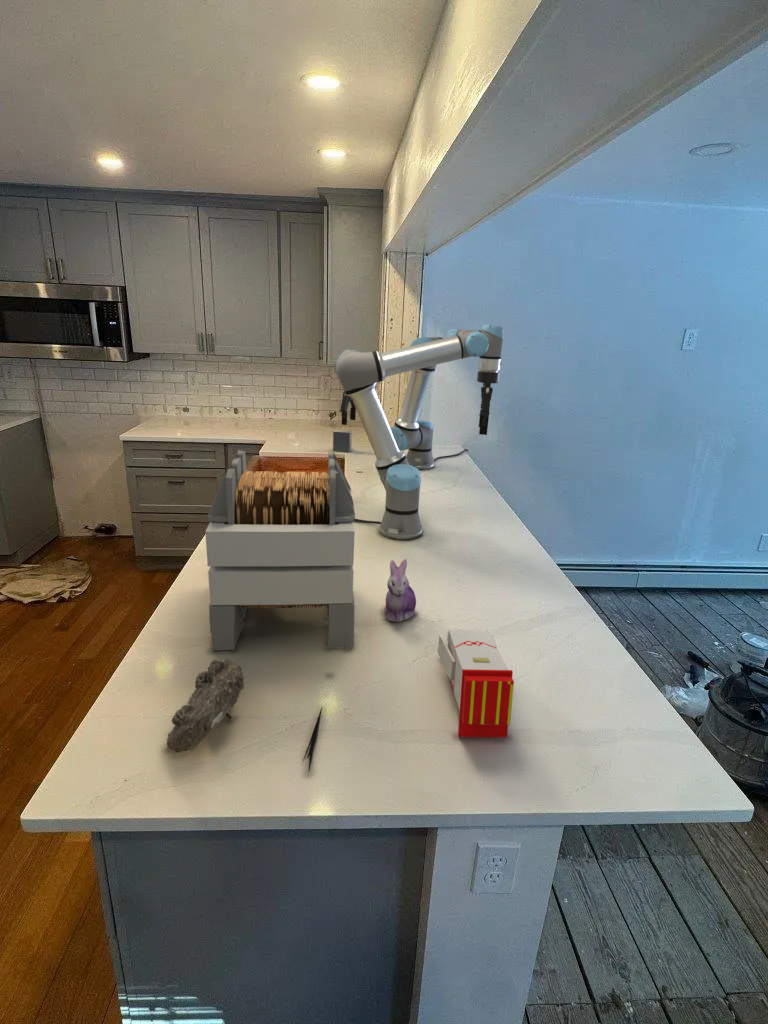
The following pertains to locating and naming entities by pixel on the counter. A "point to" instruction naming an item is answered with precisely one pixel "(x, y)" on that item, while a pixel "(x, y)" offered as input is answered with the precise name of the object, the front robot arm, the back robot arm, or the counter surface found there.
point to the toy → (478, 682)
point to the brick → (342, 440)
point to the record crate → (281, 548)
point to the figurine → (399, 594)
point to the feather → (313, 740)
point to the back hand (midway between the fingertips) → (348, 422)
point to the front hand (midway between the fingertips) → (482, 430)
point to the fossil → (206, 705)
